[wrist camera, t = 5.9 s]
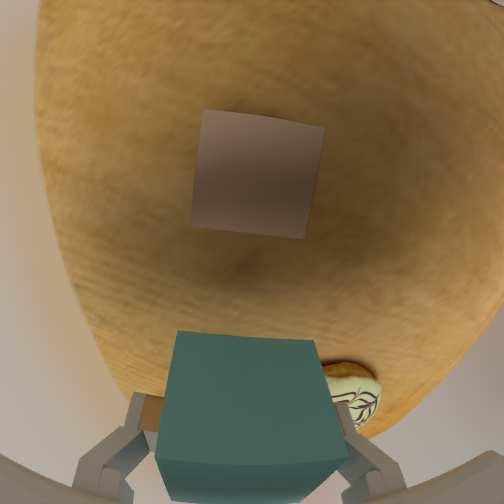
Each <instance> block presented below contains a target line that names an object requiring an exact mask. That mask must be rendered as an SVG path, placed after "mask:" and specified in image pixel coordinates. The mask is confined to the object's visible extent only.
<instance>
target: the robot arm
mask: <svg viewBox="0 0 504 504" xmlns="http://www.w3.org/2000/svg"><path fill="white" fill-rule="evenodd" d="M492 1H493V2H495V3H497V4H499V5H501V6H504V0H492ZM163 402H164V397H161V396H155V395H149V394H144V393H139V392H134V393H133V395H132V397H131V401H130V405H129V408H128V412H127V416H126V420H125V424H124V427H122V426H120V427H118V428H117V429H116V430H115V431H114V432H112V433H111V434H110V435H108V436H107V437H106V438H105V439H103V440H102V441H101V442H100V443H98V444H97V445H96V446H95V447H93V448H92V449H91V450H90V451H88V452H87V453H86V454H84V455H83V456H82V457H81V458H80V459H79V463H78V466H77V470H76V474H75V477H74V481H73V485H72V487H69V486H67V485H64V484H62V483H59V482H57V481H54V480H52V479H49V478H47V477H45V476H43V475H40V474H38V473H36V472H34V471H32V470H30V469H28V468H26V467H24V466H22V465H20V464H18V463H16V462H14V461H13V460H11V459H9V458H7V457H5V456H4V455H2V454H0V504H133V497H134V491H133V490H132V489H131V487H130V486H129V485H128V483H127V482H126V480H125V478H126V477H127V476H128V475H129V474H130V473H131V472H132V471H133V470H134V468H135V467H136V466H137V465H138V464H139V463H140V462H141V461H142V460H143V459H144V458H145V457H146V456H147V455H148V454H149V451H151V452H155V450H156V444H157V437H158V431H159V425H160V419H161V413H162V408H163ZM334 406H335V410H336V413H337V416H338V420H339V423H340V426H341V430H342V433H343V436H344V440H345V443H346V447H347V450H348V454H349V458H348V459H347V460H346V461H345V462H344V463H343V464H342V465H341V466H340V467H339V468H338V469H337V471H338V472H339V473H340V474H341V475H342V476H343V477H344V478H345V479H346V480H347V481H348V482H349V483H350V484H351V486H350V487H349V488H347V489H346V490H345V491H343V492H342V494H341V496H342V501H343V504H504V456H502V455H500V454H499V453H497V452H495V451H492V450H489V451H486V452H484V453H482V454H481V455H479V456H477V457H475V458H474V459H472V460H470V461H468V462H466V463H465V464H462V465H460V466H458V467H456V468H454V469H452V470H450V471H448V472H446V473H444V474H442V475H440V476H437V477H435V478H432V479H430V480H428V481H426V482H423V483H420V484H418V485H415V486H412V487H410V488H407V486H406V483H405V481H404V478H403V475H402V472H401V470H400V467H399V464H398V463H397V462H395V461H394V460H393V459H392V458H390V457H389V456H388V455H387V454H385V453H384V452H383V451H382V450H380V449H379V448H378V447H377V446H375V445H374V444H373V443H371V442H370V441H369V440H368V439H367V438H365V437H364V436H363V435H362V434H357V431H356V428H355V425H354V422H353V419H352V416H351V414H350V411H349V408H348V405H347V403H346V402H336V403H334Z"/></svg>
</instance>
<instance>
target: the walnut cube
mask: <svg viewBox="0 0 504 504" xmlns="http://www.w3.org/2000/svg"><path fill="white" fill-rule="evenodd" d="M325 130H326V128H324V127H320V126H315V125H310V124H305V123H300V122H295V121H290V120H284V119H279V118H273V117H267V116H260V115H253V114H246V113H238V112H229V111H220V110H209V109H203V112H202V119H201V127H200V135H199V143H198V152H197V160H196V170H195V180H194V190H193V201H192V214H191V227H196V228H205V229H215V230H224V231H233V232H242V233H251V234H260V235H269V236H277V237H286V238H294V239H302V240H304V237H305V233H306V228H307V223H308V219H309V214H310V209H311V204H312V200H313V195H314V190H315V185H316V179H317V174H318V169H319V164H320V158H321V153H322V147H323V142H324V136H325Z"/></svg>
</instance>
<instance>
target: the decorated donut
mask: <svg viewBox="0 0 504 504" xmlns="http://www.w3.org/2000/svg"><path fill="white" fill-rule="evenodd" d="M322 368H323V371H324V374H325V377H326V381H327V384H328V387H329V390H330V393H331V397H332V400H333V403H336V402H346V403H347V405H348V408H349V411H350V414H351V416H352V419H353V422H354V425H355V428H356V431H357V430H359V429H360V428H361V427H363V426H364V425H365V424H366V423H367V422H368V420H369V419H371V418H372V416H373V415H374V414H375V412H376V410H377V407H378V405H379V402H380V400H381V396H382V385H381V384H380V382H378V381H376V380H375V379H374V377H373V376H372V375H371V374H370V373H369V372H368V371H367V370H365V369H364V368H362V367H361V366H359V365H357V364H355V363H350V362H341V363H339V364H332V365H327V366H323V367H322Z"/></svg>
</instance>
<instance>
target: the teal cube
mask: <svg viewBox="0 0 504 504" xmlns="http://www.w3.org/2000/svg"><path fill="white" fill-rule="evenodd" d="M348 458H349V454H348V450H347V447H346V443H345V440H344V436H343V433H342V430H341V426H340V423H339V420H338V416H337V413H336V410H335V406H334V403H333V400H332V397H331V393H330V390H329V387H328V384H327V381H326V377H325V374H324V371H323V368H322V365H321V362H320V359H319V355H318V352H317V349H316V346H315V343H314V340H291V339H269V338H252V337H238V336H226V335H215V334H205V333H195V332H186V331H178V333H177V337H176V342H175V346H174V351H173V356H172V361H171V366H170V371H169V376H168V381H167V386H166V391H165V397H164V402H163V408H162V413H161V419H160V425H159V431H158V437H157V444H156V450H155V459H156V462H157V465H158V468H159V471H160V473H161V476H162V478H163V481H164V484H165V486H166V489H167V491H168V494H169V496H170V499H171V500H172V501H178V502H187V503H196V504H288V503H299V502H300V501H302V500H303V499H304V498H306V497H307V496H308V495H309V494H310V493H311V492H312V491H314V490H315V489H316V488H317V487H318V486H319V485H321V484H322V483H323V482H324V481H325V480H326V479H327V478H328V477H329V476H330V475H331V474H333V473H334V471H336V470H337V469H338V468H339V467H340V466H341V465H342V464H343V463H344V462H345V461H346V460H347V459H348Z"/></svg>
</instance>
